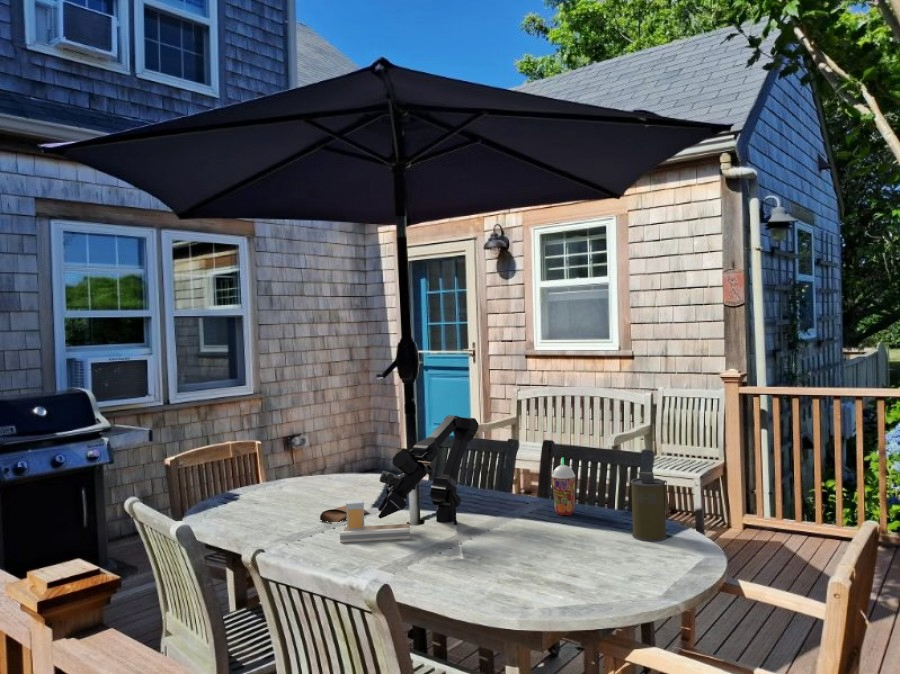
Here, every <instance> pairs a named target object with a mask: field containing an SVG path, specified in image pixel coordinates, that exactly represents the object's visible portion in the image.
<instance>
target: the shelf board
mask: <svg viewBox="0 0 900 674" xmlns="http://www.w3.org/2000/svg"><path fill="white" fill-rule="evenodd" d="M364 526H365V530H378V529H397V528H411V526H410V523H401V524H398V523H397V524H382V525H379V524H378V525H364ZM343 531H347V526H345V527H344V529H343ZM404 540H405V541H406V540H408V539H392V540H391V541H404ZM385 541H386V542H387V541H388V542H389V541H390V540H373V541H355V542H339V543H340V544H349V543H367V542H368V543H371V542H385Z"/></svg>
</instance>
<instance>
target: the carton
mask: <svg viewBox="0 0 900 674" xmlns="http://www.w3.org/2000/svg"><path fill="white" fill-rule="evenodd" d="M345 503H346V504H345V506H346V511H347V521H346V527H347V531H360V530H365V526H366V525H365V515H364V509H365V506H364V505H365V504H364V499H351V500H346V502H345Z"/></svg>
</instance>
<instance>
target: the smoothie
mask: <svg viewBox="0 0 900 674" xmlns="http://www.w3.org/2000/svg"><path fill="white" fill-rule="evenodd" d="M551 480H552V481H551V483H552V492H553V502H554V504H553V505H554V511H555V513H556V514H557V515H558V514H559V515H558V516H563V515H567V516H572V515H573V513H574V511H575V502H576V501H575V500H576V499H575V498H576V497H575V495H576V474H575V473H574V471H573V469H572V468H571V466H568V465H566V464H565V459H564V457H561V464H560V465H558V466H557V467H555V469H554V470H553V471H552V474H551Z"/></svg>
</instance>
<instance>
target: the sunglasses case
mask: <svg viewBox="0 0 900 674" xmlns="http://www.w3.org/2000/svg"><path fill="white" fill-rule="evenodd" d="M368 513H370V512H368V511H367V510H366V509H365V508H364V514H367V515H369V514H368ZM346 519H347V511H346V505H343V506H338V507H335V508H333V509H332V508H331V509H327V510H324V511H322V513H321V514H320V516H319V520H322V521H328V522H340V521H342V520H346Z"/></svg>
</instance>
